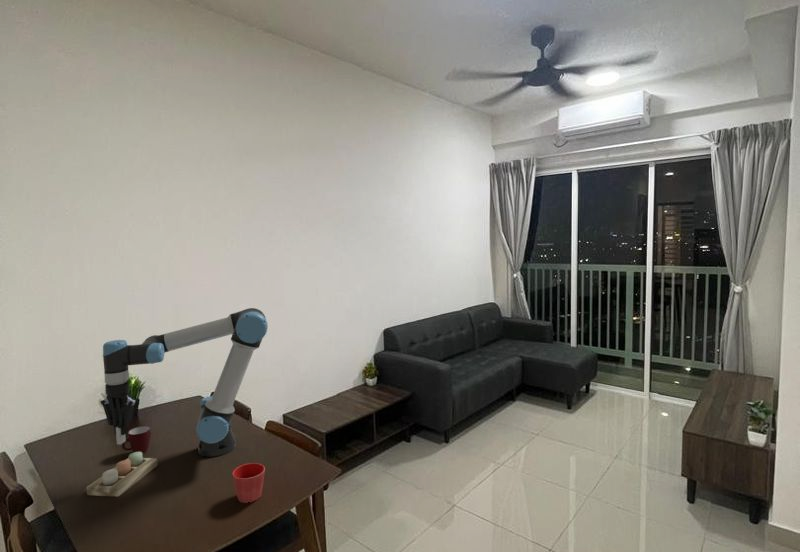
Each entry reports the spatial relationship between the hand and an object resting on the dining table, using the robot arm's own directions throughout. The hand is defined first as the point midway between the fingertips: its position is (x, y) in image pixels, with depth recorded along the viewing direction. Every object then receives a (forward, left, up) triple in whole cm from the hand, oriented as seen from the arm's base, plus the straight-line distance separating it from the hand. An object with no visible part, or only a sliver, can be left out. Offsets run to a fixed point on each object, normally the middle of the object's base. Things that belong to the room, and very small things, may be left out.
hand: (121, 442), depth 161 cm
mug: (+9, -19, -15) cm, 25 cm away
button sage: (0, -6, -11) cm, 13 cm away
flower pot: (-53, +7, -15) cm, 56 cm away
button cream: (0, +7, -11) cm, 13 cm away
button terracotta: (0, 0, -11) cm, 11 cm away
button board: (0, 0, -14) cm, 14 cm away
